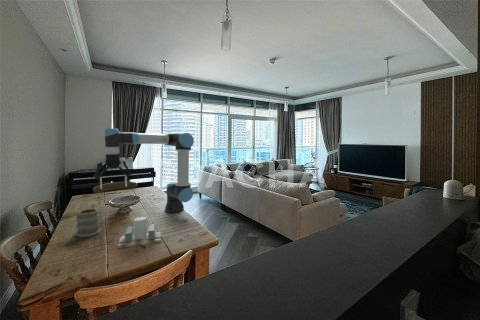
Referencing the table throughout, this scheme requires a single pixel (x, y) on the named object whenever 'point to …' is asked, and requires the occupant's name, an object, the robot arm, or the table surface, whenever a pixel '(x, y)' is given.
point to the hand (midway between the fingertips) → (114, 187)
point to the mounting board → (139, 240)
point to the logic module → (140, 228)
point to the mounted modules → (130, 233)
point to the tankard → (88, 222)
